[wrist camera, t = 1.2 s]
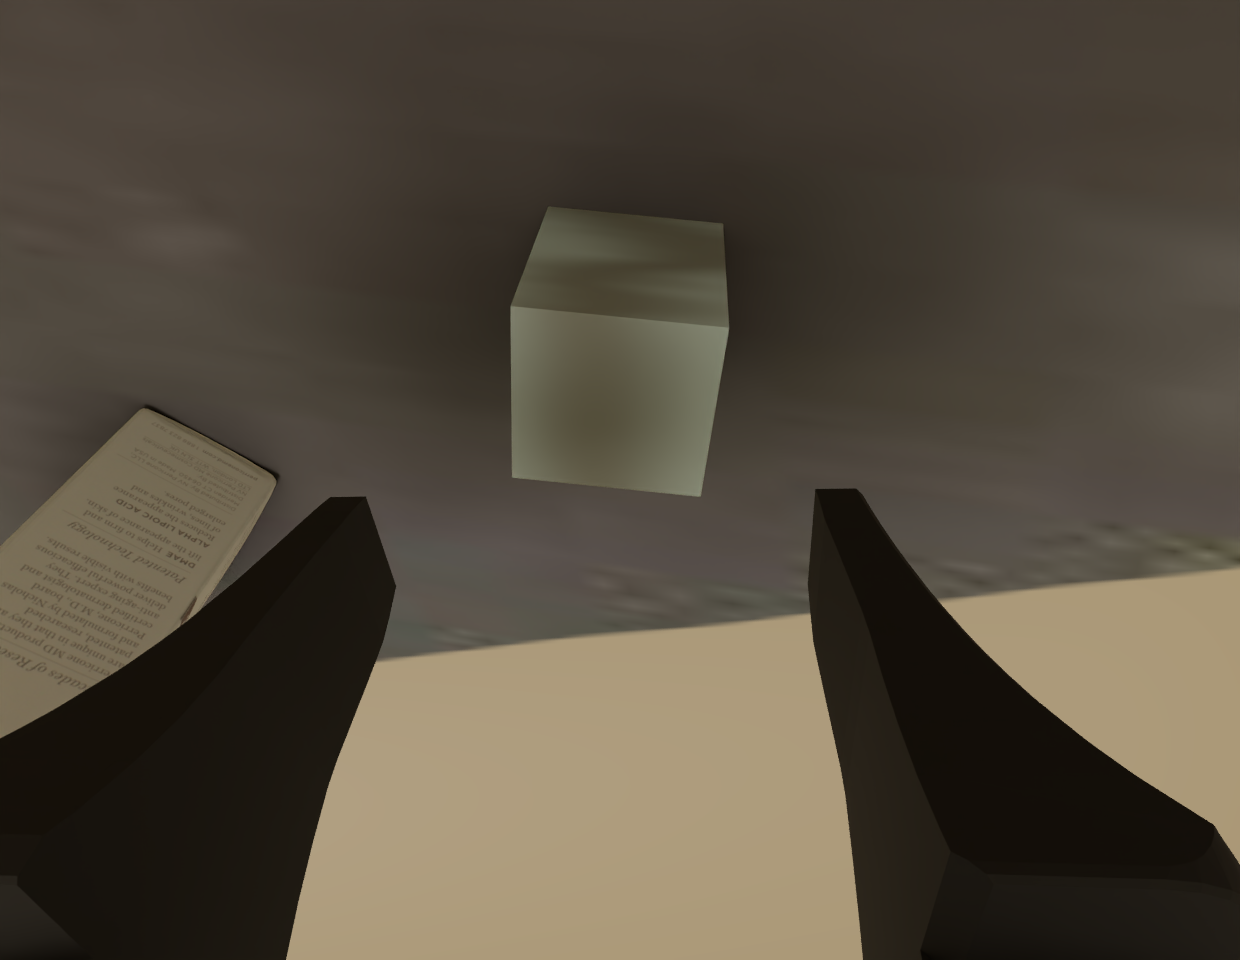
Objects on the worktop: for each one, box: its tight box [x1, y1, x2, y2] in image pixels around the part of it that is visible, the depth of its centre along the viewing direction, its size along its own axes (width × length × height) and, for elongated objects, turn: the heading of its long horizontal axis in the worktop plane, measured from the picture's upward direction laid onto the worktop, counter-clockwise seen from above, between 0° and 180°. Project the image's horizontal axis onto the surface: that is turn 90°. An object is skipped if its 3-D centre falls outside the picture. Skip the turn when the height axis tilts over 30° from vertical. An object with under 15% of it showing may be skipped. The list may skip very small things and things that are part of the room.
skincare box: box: [0, 408, 276, 738], centre depth 21 cm, size 6×4×12 cm
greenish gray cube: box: [511, 206, 729, 497], centre depth 19 cm, size 4×4×5 cm
